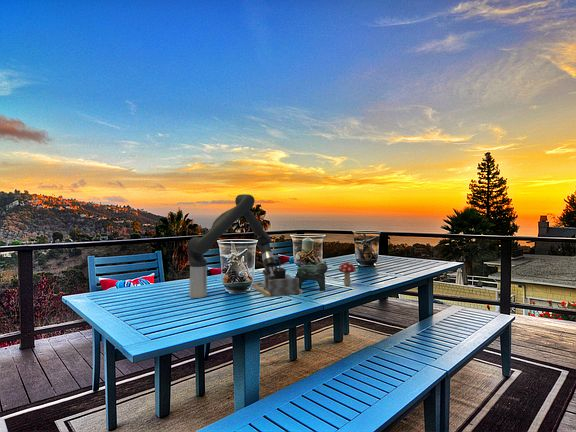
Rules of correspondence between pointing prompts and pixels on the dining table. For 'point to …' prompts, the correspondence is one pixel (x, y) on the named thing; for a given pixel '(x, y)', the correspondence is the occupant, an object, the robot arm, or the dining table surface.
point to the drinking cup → (279, 272)
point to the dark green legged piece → (312, 273)
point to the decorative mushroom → (347, 272)
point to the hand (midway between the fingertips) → (275, 282)
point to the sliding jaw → (271, 277)
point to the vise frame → (279, 287)
